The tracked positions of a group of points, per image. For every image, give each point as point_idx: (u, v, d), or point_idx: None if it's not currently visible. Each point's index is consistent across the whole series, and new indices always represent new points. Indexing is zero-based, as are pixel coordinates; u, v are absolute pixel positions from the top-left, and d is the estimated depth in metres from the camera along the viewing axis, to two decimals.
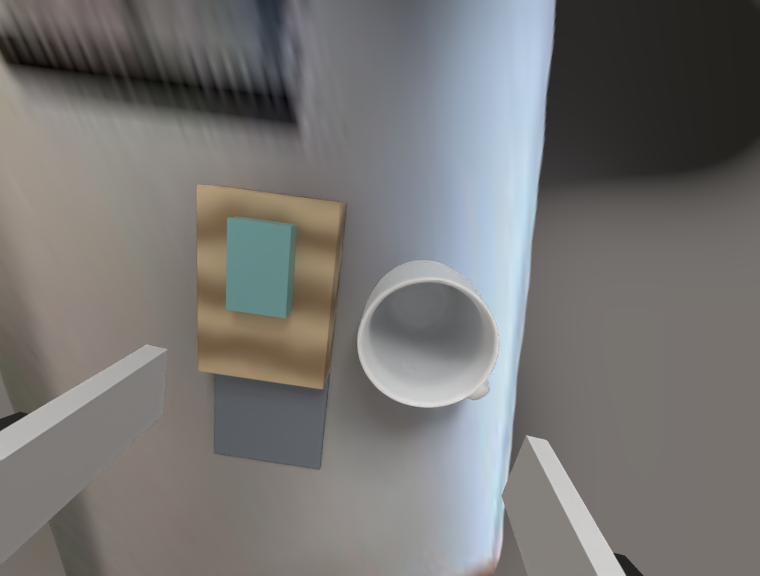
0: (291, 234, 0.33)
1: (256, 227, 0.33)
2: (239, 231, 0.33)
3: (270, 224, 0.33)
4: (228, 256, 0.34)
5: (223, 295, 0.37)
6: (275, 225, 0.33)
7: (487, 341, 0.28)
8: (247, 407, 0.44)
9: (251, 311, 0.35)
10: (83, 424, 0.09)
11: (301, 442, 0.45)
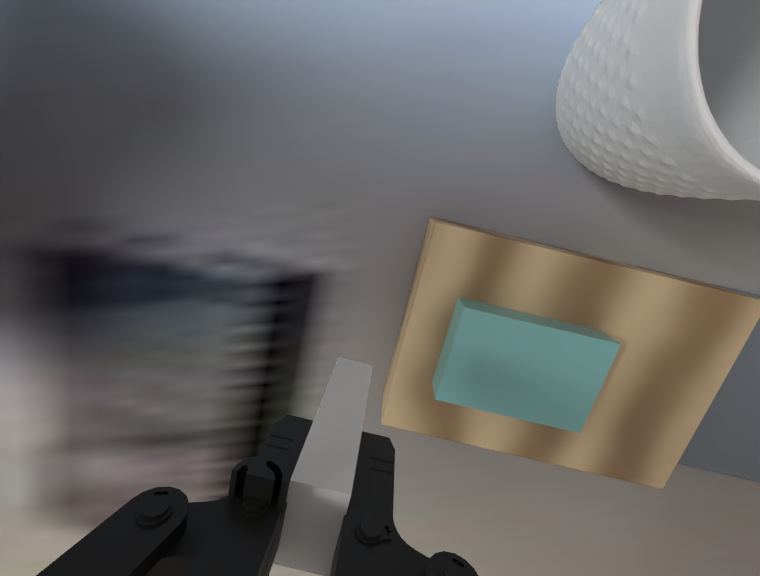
0: (476, 308, 0.20)
1: (456, 360, 0.20)
2: (458, 386, 0.21)
3: (455, 338, 0.20)
4: (494, 410, 0.21)
5: (547, 426, 0.24)
6: (458, 331, 0.20)
7: None
8: (733, 425, 0.27)
9: (593, 395, 0.21)
10: None
11: None
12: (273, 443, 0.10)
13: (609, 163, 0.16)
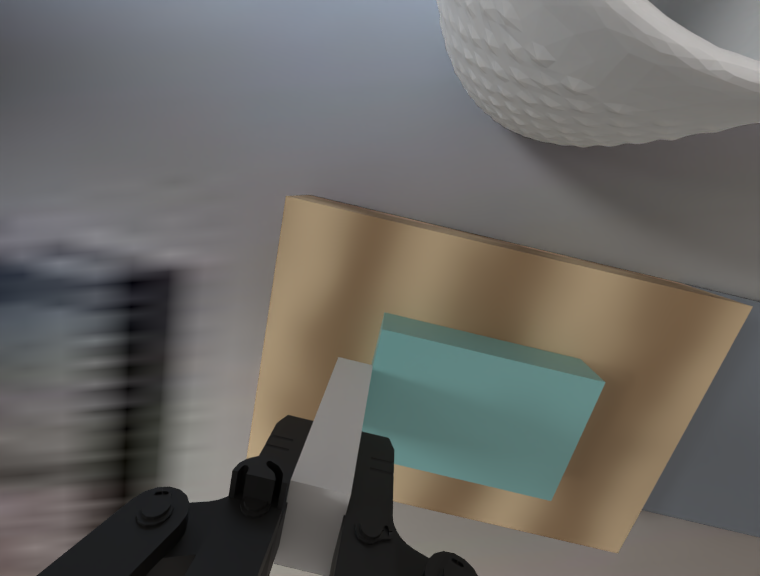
0: (400, 331, 0.14)
1: (376, 402, 0.15)
2: None
3: (372, 372, 0.14)
4: (432, 469, 0.15)
5: None
6: (376, 362, 0.14)
7: None
8: (715, 464, 0.21)
9: (568, 452, 0.15)
10: None
11: None
12: (273, 443, 0.10)
13: (492, 93, 0.10)
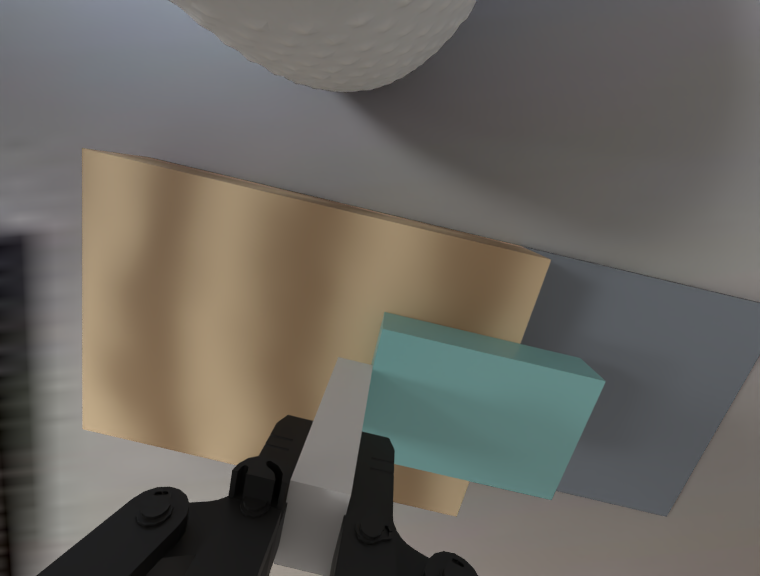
0: (401, 330, 0.14)
1: (376, 402, 0.15)
2: None
3: (373, 372, 0.14)
4: (432, 469, 0.15)
5: None
6: (376, 362, 0.14)
7: None
8: None
9: (568, 451, 0.15)
10: None
11: (693, 339, 0.19)
12: (273, 443, 0.10)
13: None
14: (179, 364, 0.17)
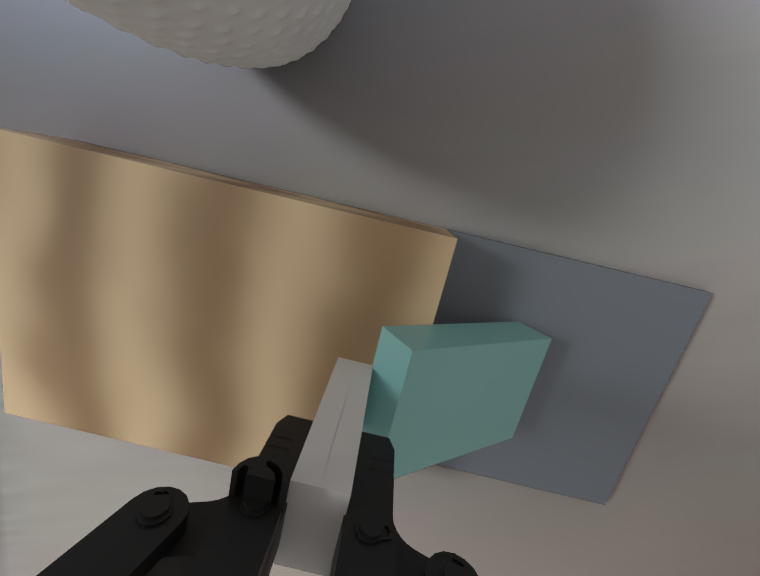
0: (423, 345, 0.13)
1: (401, 424, 0.14)
2: (403, 454, 0.14)
3: (399, 396, 0.13)
4: (441, 459, 0.16)
5: (213, 415, 0.18)
6: (404, 386, 0.13)
7: None
8: None
9: (526, 397, 0.18)
10: None
11: (621, 323, 0.19)
12: (273, 443, 0.10)
13: None
14: (95, 346, 0.17)
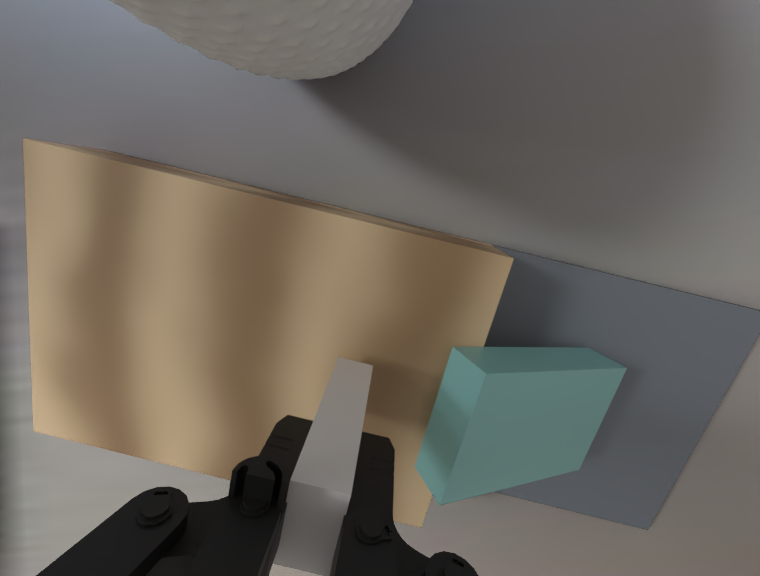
0: (496, 369, 0.13)
1: (470, 446, 0.14)
2: (469, 477, 0.14)
3: (470, 418, 0.13)
4: (505, 485, 0.16)
5: (249, 437, 0.17)
6: (475, 408, 0.13)
7: None
8: None
9: (596, 428, 0.18)
10: None
11: (672, 344, 0.18)
12: (273, 443, 0.10)
13: None
14: (129, 364, 0.16)
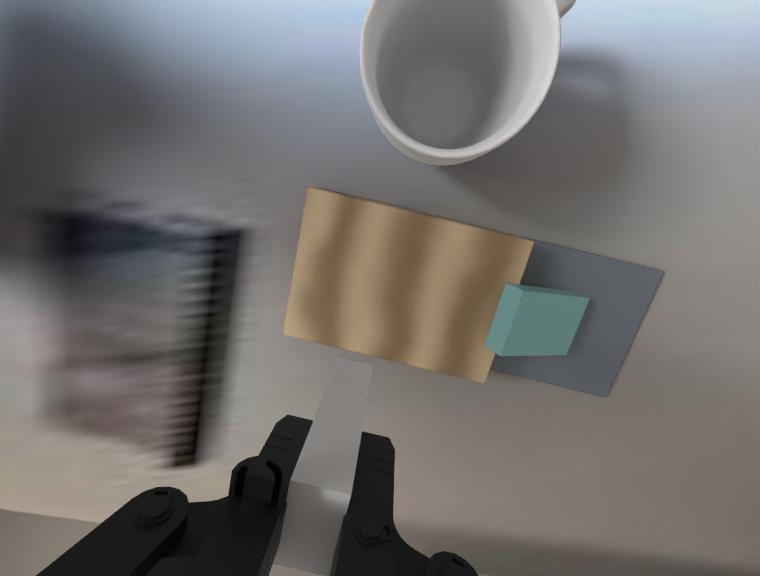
0: (527, 290, 0.29)
1: (514, 326, 0.30)
2: (513, 343, 0.31)
3: (515, 312, 0.29)
4: (529, 353, 0.32)
5: (398, 334, 0.33)
6: (518, 307, 0.29)
7: None
8: None
9: (574, 331, 0.34)
10: None
11: (615, 288, 0.34)
12: (273, 443, 0.10)
13: None
14: (341, 296, 0.33)
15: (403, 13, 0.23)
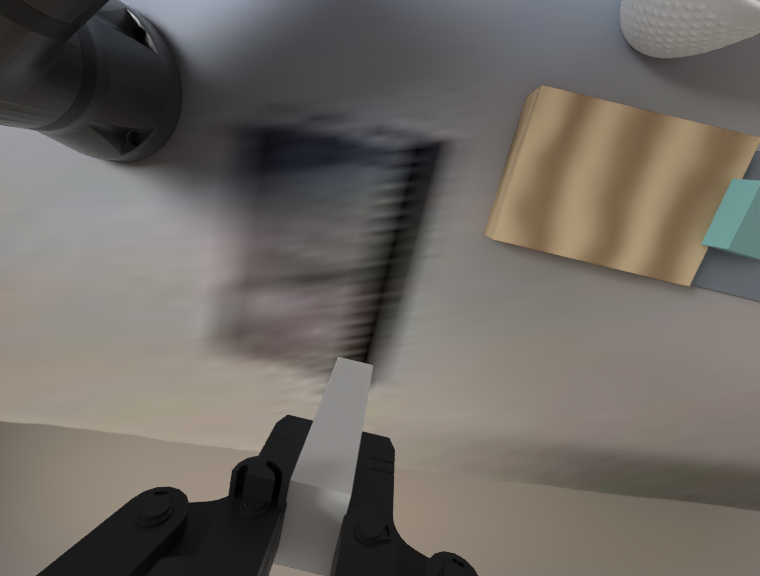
0: None
1: (745, 219, 0.31)
2: (739, 238, 0.32)
3: (750, 203, 0.30)
4: (744, 252, 0.33)
5: (609, 237, 0.34)
6: (754, 198, 0.30)
7: None
8: None
9: None
10: None
11: None
12: (273, 443, 0.10)
13: (662, 28, 0.27)
14: (558, 199, 0.34)
15: None
